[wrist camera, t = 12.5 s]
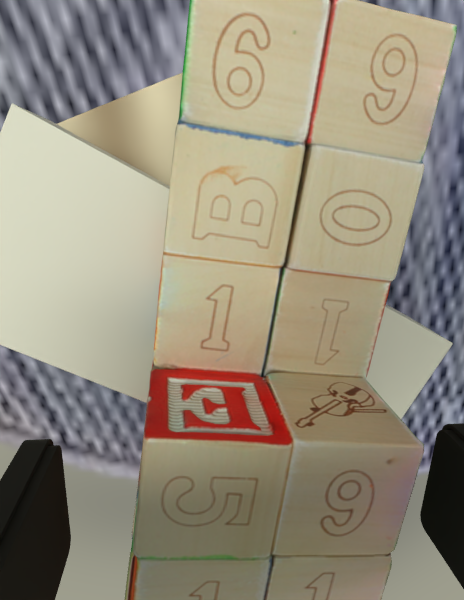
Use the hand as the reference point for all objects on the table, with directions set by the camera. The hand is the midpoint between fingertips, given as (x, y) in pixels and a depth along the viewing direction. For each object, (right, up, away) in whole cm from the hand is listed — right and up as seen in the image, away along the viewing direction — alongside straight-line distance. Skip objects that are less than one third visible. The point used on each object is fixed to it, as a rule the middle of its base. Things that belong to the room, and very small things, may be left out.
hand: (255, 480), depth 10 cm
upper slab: (-2, +4, +15) cm, 16 cm away
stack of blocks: (-1, +4, +10) cm, 11 cm away
